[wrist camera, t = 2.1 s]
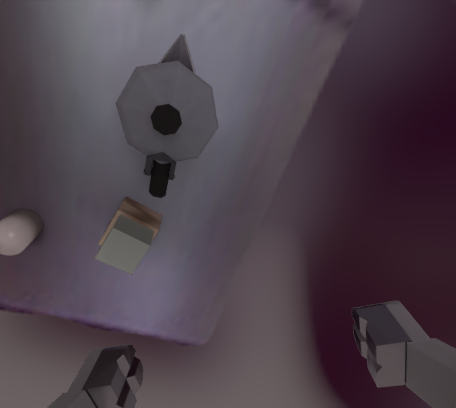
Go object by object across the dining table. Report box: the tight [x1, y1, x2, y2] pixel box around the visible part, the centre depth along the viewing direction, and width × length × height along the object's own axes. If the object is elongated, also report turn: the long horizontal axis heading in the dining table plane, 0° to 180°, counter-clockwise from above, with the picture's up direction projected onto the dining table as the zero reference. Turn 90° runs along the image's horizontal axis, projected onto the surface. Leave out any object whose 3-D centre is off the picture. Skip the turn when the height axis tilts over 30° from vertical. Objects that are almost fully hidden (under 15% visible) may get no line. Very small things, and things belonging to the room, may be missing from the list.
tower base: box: [99, 197, 162, 245], centre depth 40 cm, size 6×6×5 cm
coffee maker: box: [116, 34, 218, 198], centre depth 29 cm, size 15×9×18 cm, turn 166°
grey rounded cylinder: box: [0, 209, 44, 255], centre depth 38 cm, size 5×5×5 cm
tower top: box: [95, 214, 154, 275], centre depth 36 cm, size 5×5×4 cm
